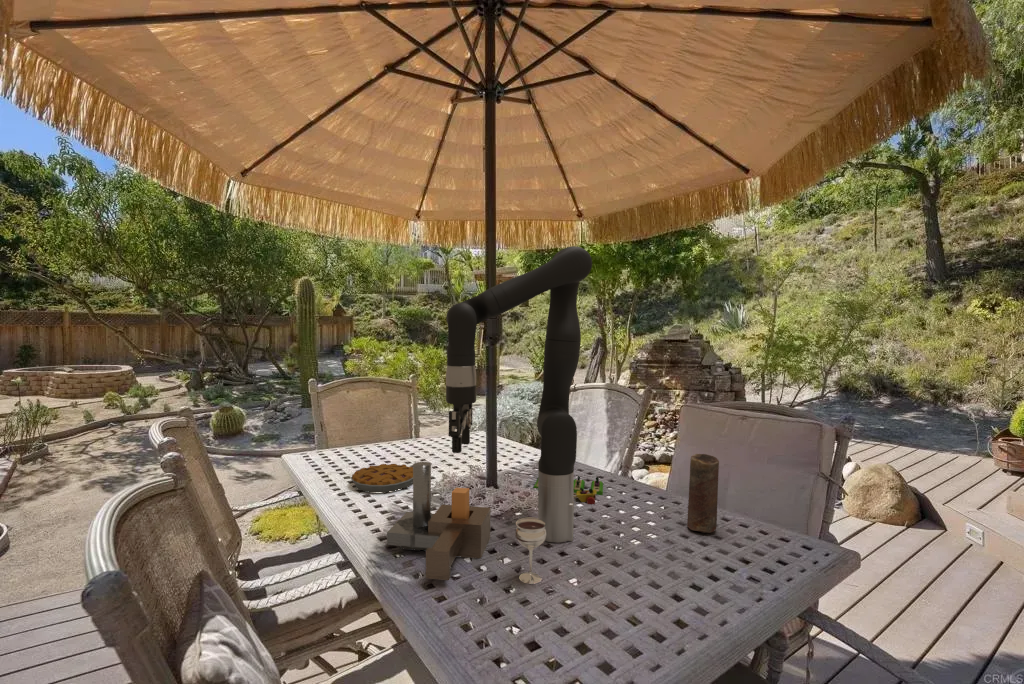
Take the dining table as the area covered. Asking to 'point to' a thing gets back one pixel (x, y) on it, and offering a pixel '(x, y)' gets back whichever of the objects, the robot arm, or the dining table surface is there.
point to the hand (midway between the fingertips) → (461, 448)
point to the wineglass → (530, 542)
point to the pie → (383, 478)
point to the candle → (703, 493)
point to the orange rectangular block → (460, 503)
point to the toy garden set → (585, 494)
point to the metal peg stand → (416, 514)
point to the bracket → (456, 539)
